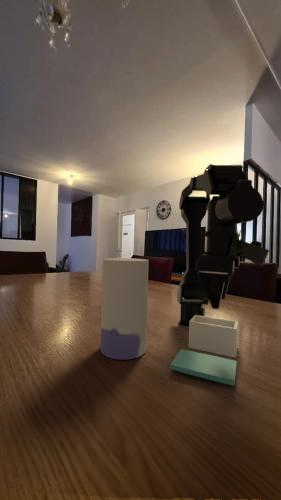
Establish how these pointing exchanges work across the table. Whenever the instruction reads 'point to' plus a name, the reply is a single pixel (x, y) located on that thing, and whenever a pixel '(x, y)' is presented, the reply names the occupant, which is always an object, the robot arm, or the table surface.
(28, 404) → the table surface
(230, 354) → the storage box
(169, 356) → the table surface
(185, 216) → the robot arm
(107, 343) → the container
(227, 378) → the lid
